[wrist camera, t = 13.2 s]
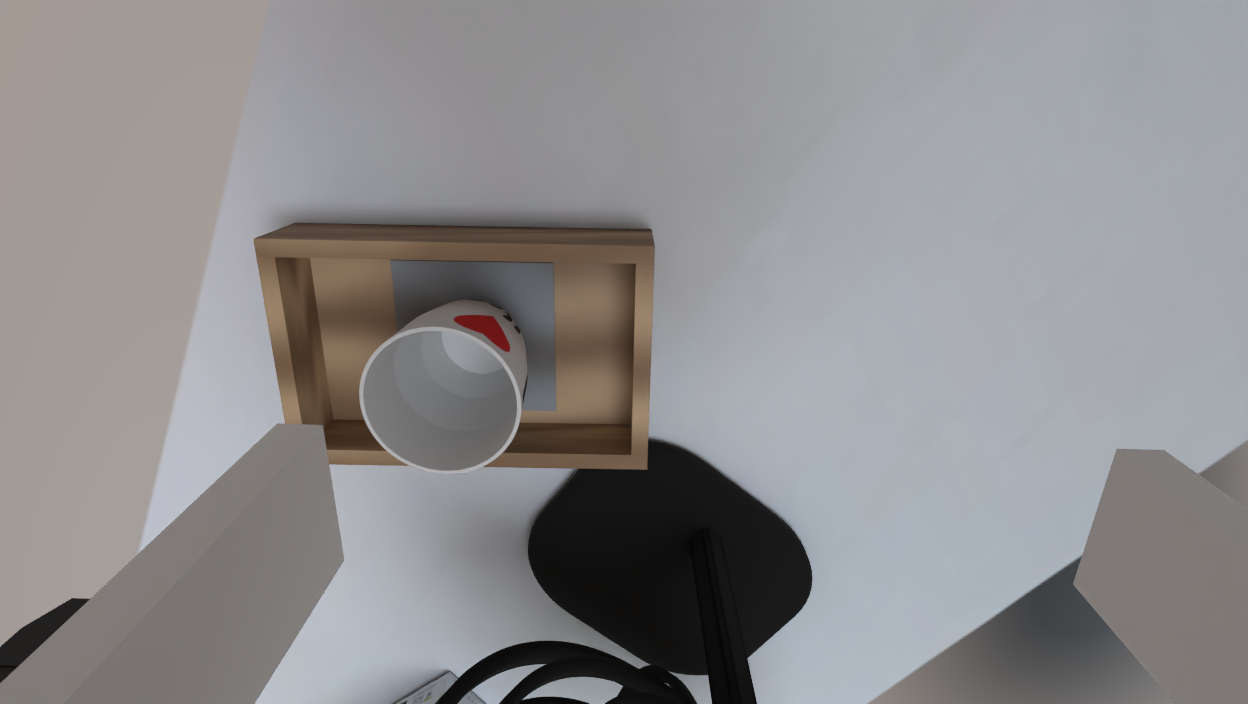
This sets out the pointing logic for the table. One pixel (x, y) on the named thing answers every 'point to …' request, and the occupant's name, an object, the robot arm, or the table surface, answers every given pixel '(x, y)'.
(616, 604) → the desk fan
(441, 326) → the cup
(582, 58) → the table surface
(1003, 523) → the table surface
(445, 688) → the tea box
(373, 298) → the wooden box
